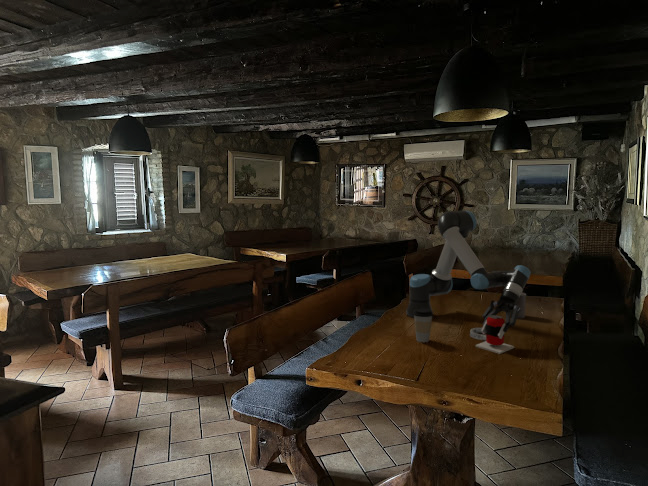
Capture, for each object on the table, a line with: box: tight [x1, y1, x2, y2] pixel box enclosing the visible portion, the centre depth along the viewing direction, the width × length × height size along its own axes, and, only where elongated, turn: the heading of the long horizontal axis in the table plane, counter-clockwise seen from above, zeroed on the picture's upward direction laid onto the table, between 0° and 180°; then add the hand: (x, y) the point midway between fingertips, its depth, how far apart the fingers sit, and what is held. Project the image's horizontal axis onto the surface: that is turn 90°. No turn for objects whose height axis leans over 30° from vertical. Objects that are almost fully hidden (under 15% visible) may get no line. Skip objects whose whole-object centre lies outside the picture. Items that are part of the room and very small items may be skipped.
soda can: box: [485, 314, 506, 345], centre depth 197 cm, size 8×8×12 cm
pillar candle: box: [510, 292, 527, 320], centre depth 247 cm, size 10×10×15 cm
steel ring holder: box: [469, 327, 486, 341], centre depth 213 cm, size 12×12×2 cm
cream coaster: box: [475, 340, 515, 355], centre depth 198 cm, size 12×12×1 cm
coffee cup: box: [413, 308, 434, 344], centre depth 207 cm, size 9×9×15 cm
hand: (491, 334), depth 195 cm, fingers closed on soda can, 7 cm apart
